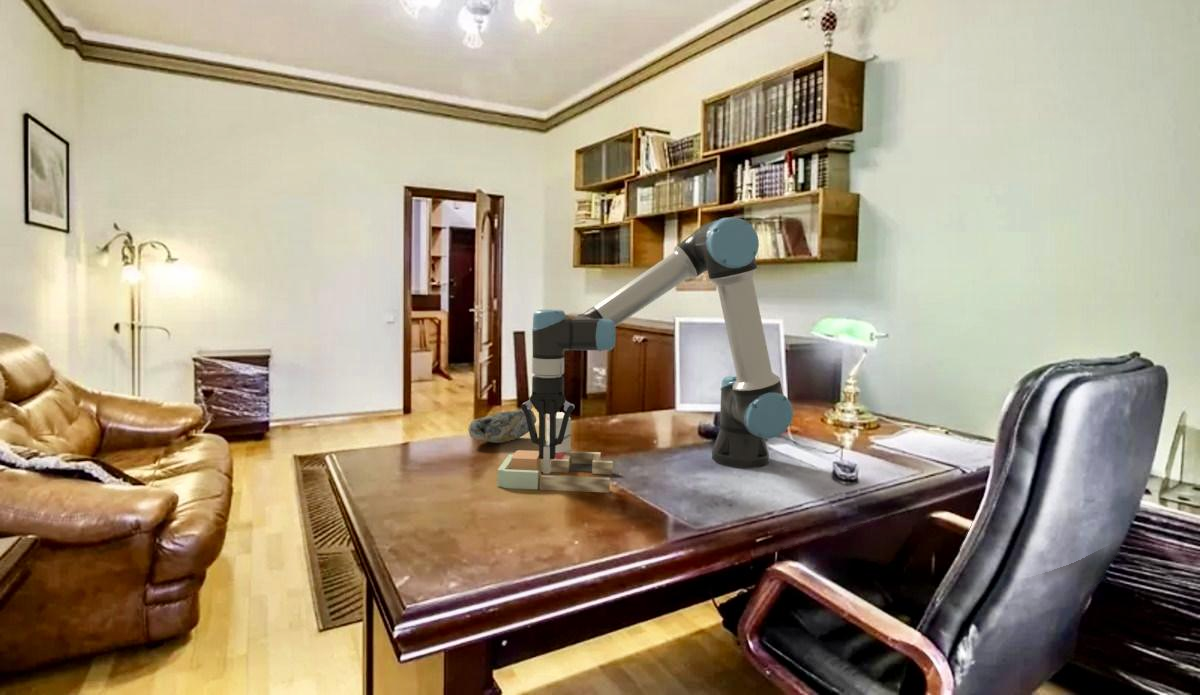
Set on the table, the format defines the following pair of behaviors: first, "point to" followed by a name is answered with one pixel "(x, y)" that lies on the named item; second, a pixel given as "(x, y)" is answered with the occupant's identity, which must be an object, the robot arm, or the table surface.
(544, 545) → the table surface
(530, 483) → the dock
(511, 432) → the stone
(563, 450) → the ink box
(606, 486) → the wooden frame piece
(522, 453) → the block
